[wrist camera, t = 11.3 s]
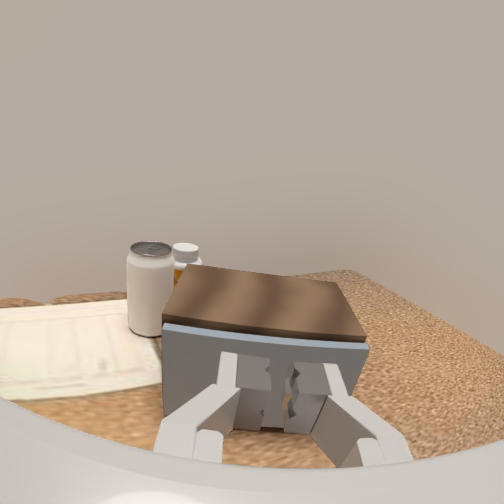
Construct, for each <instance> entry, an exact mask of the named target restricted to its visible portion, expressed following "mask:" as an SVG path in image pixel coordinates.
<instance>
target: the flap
mask: <svg viewBox="0 0 504 504" xmlns="http://www.w3.org/2000/svg"><path fill="white" fill-rule="evenodd" d="M369 350H370V349H369V347H368V345H367V343H352V342H334V341H318V340H305V339H292V338H281V337H270V336H261V335H251V334H242V333H234V332H225V331H218V330H210V329H203V328H195V327H189V326H182V325H175V324H169V323H164V325H163V327H162V384H163V409H164V415H170V414H171V413H173V412H174V411H176V410H177V409H178V408H180V407H181V406H183V405H184V404H185V403H187V402H188V401H189V400H191V399H192V398H194V397H195V396H196V395H198V394H199V393H200V392H202V391H203V390H204V389H206V388H207V387H208V386H210V385H211V384H216V382H217V375H218V369H219V362H220V355H221V352H222V351H223V352H230V353H236V354H243V355H249V356H256V357H263V358H269V362H270V367H269V371H268V373H269V374H270V375H271V394H270V398H269V401H268V405H267V407H266V408H265V409H263V410H264V418H263V421H262V424H261V427H278V428H284V426H283V415H284V412H285V410H284V409H283V408H282V406H281V394H282V388H283V385H284V381H285V380H286V379H288V378H289V377H288V368H289V365H290V363H291V361H296V362H307V363H320V364H321V363H330V364H337V365H338V367H339V370H340V373H341V376H342V379H343V381H344V384H345V387H346V390H347V393H348V396H351V394H352V392H353V390H354V387H355V385H356V383H357V380H358V378H359V376H360V373H361V371H362V368H363V366H364V363H365V361H366V358H367V356H368V353H369Z"/></svg>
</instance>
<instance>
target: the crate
mask: <svg viewBox="0 0 504 504" xmlns="http://www.w3.org/2000/svg"><path fill="white" fill-rule="evenodd" d="M164 323H169V324H175V325H182V326H189V327H195V328H203V329H210V330H218V331H225V332H234V333H242V334H251V335H261V336H270V337H281V338H292V339H305V340H318V341H334V342H352V343H365V340H366V337H367V336H366V334H365V332H364V330H363V328H362V327H361V325H360V323H359V321H358V319H357V318H356V316H355V314H354V312H353V311H352V309H351V307H350V305H349V304H348V302H347V300H346V298H345V297H344V295H343V293H342V291H341V290H340V288H339V286H338V285H337V283H335V282H327V281H319V280H310V279H302V278H294V277H286V276H278V275H270V274H263V273H255V272H247V271H240V270H232V269H224V268H217V267H209V266H203V265H195V264H188V263H187V265H186V266H185V268H184V270H183V272H182V274H181V276H180V278H179V280H178V282H177V284H176V286H175V288H174V290H173V292H172V294H171V296H170V298H169V300H168V302H167V304H166V306H165V308H164V310H163V312H162V327H163V325H164ZM162 390H163V384H162Z"/></svg>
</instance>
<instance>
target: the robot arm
mask: <svg viewBox="0 0 504 504" xmlns="http://www.w3.org/2000/svg"><path fill="white" fill-rule="evenodd" d="M269 367H270V362H269V358H263V357H256V356H249V355H243V354H236V353H230V352H223V351H222V352H221V355H220V362H219V369H218V375H217V382H216V384H211V385H210V386H208V387H207V388H206V389H204V390H203V391H202V392H200V393H199V394H198V395H196V396H195V397H194V398H192V399H191V400H189V401H188V402H187V403H185V404H184V405H183V406H181V407H180V408H178V409H177V410H176V411H174V412H173V413H171V414H170V415H168V416H167V417H166V418H164V419H163V420H162V421H161V425H160V428H159V431H158V435H157V438H156V442H155V445H154V449H153V451H150V450H146V449H142V448H137V447H134V446H130V445H126V444H122V443H119V442H115V441H112V440H108V439H105V438H102V437H98V436H95V435H92V434H89V433H86V432H83V431H80V430H77V429H75V428H72V427H69V426H66V425H64V424H61V423H58V422H56V421H53V420H51V419H48V418H46V417H43V416H41V415H39V414H36V413H34V412H32V411H30V410H27V409H25V408H23V407H21V406H19V405H16V404H14V403H12V402H10V401H8V400H6V399H4V398H2V397H0V504H504V439H502V440H499V441H496V442H492V443H489V444H486V445H482V446H479V447H475V448H471V449H467V450H463V451H459V452H455V453H450V454H446V455H441V456H436V457H431V458H425V459H420V460H414V459H413V457H412V454H411V452H410V450H409V447H408V445H407V443H406V440H405V438H404V436H403V434H402V433H400V432H399V431H397V430H396V429H395V428H393V427H392V426H391V425H389V424H388V423H387V422H386V421H384V420H383V419H382V418H380V417H379V416H378V415H376V414H375V413H374V412H372V411H371V410H370V409H368V408H367V407H366V406H365V405H363V404H362V403H361V402H359V401H358V400H357V399H356V398H354V397H353V396H348V393H347V390H346V387H345V384H344V381H343V379H342V376H341V373H340V370H339V367H338V365H337V364H330V363H321V364H320V363H307V362H296V361H291V363H290V365H289V368H288V377H289V378H288V379H286V380H285V381H284V385H283V388H282V394H281V406H282V408H283V409H284V410H285V412H284V415H283V426H284V433H297V434H310V436H311V437H312V439H313V440H314V441H315V442H316V443H317V445H318V446H319V447H320V448H321V449H322V451H323V452H324V453H325V454H326V455H327V457H328V458H329V459H330V460H331V461H332V462H333V464H334V465H335V466H336V467H337V468H319V469H298V468H270V467H255V466H243V465H233V464H224V463H222V449H223V439H224V438H225V437H226V436H227V435H228V434H229V433H230V432H231V431H232V429H244V430H257V431H259V430H260V427H261V424H262V421H263V418H264V410H263V409H265V408H266V407H267V405H268V401H269V398H270V394H271V375H270V374H269V373H268V371H269Z"/></svg>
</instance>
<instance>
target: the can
mask: <svg viewBox="0 0 504 504" xmlns="http://www.w3.org/2000/svg"><path fill="white" fill-rule="evenodd" d="M130 249H131V251H130V253H129V255H128V257H127V306H128V324H129V327H130V328H131V330H132V331H134V332H135V333H136V334H138V335H141V336H145V337H157V336H161V335H162V312H163V310H164V308H165V306H166V304H167V302H168V300H169V298H170V296H171V294H172V292H173V284H174V257H173V255H172V248H171V246H169V245H167V244H164V243H161V242H155V241H144V242H137V243H134V244H133V245H131V247H130Z"/></svg>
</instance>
